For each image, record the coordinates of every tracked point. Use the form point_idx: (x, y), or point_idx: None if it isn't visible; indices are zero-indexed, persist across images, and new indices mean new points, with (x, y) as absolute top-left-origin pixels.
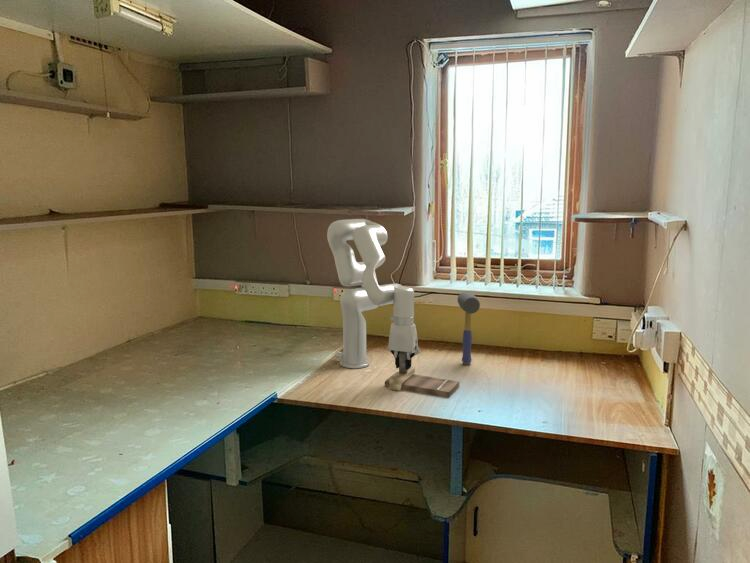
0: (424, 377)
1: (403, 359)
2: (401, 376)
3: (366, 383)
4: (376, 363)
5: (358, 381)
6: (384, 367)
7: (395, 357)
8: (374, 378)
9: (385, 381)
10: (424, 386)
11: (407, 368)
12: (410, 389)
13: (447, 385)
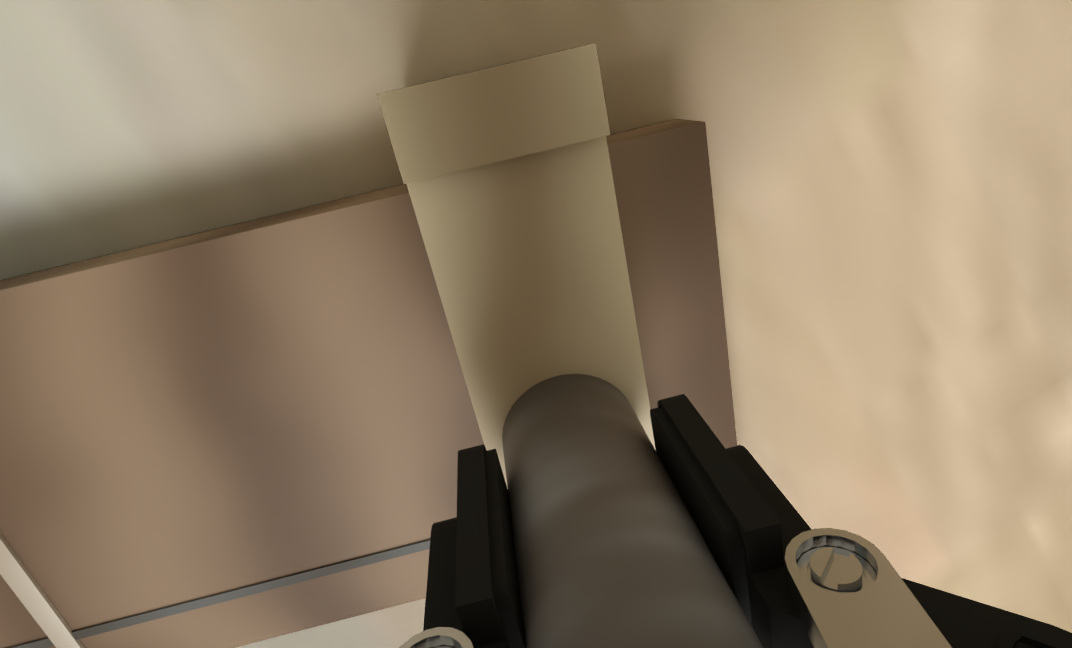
0: (358, 571)
1: (572, 580)
2: (476, 275)
3: (942, 58)
4: (1060, 601)
5: (1066, 52)
6: (951, 576)
7: (814, 543)
8: (919, 274)
9: (693, 127)
10: (101, 330)
11: (461, 472)
12: (294, 212)
13: None
